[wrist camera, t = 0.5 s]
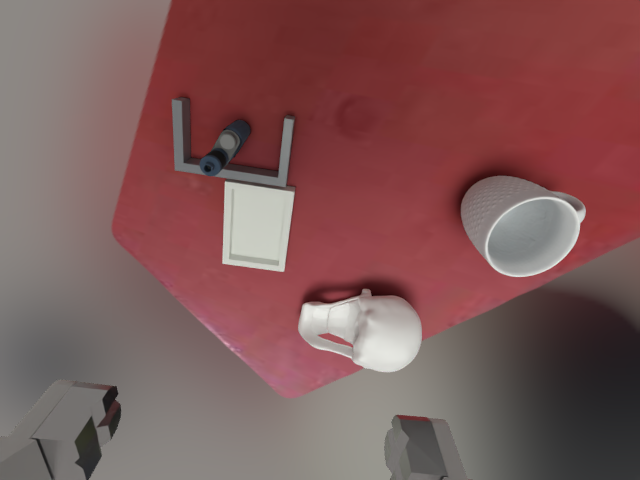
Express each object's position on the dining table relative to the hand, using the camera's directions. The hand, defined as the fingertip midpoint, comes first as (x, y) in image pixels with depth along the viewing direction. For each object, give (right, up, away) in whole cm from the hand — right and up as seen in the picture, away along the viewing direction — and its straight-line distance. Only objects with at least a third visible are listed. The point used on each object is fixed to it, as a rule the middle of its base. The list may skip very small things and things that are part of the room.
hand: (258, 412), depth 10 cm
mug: (+28, +12, +42) cm, 52 cm away
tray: (-8, +8, +44) cm, 45 cm away
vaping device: (-10, +20, +38) cm, 44 cm away
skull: (+9, -6, +51) cm, 52 cm away
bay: (-10, +20, +37) cm, 43 cm away
